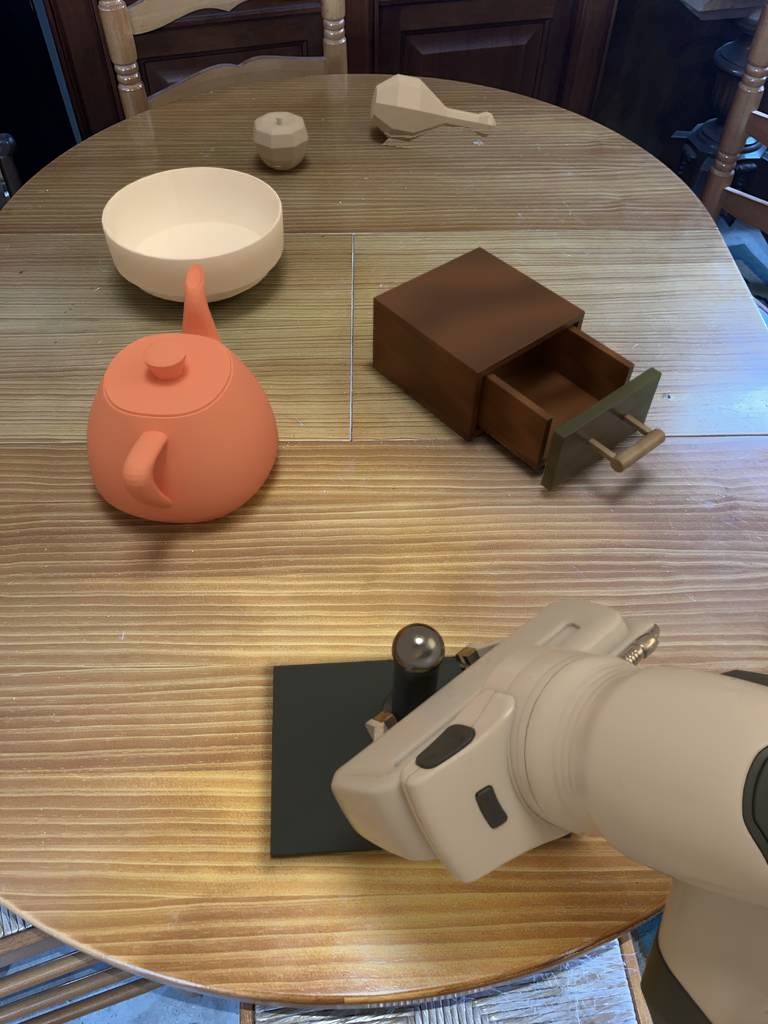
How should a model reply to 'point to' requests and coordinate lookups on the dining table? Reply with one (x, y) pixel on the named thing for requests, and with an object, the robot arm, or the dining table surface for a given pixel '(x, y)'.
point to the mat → (324, 748)
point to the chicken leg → (418, 110)
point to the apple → (280, 139)
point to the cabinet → (462, 331)
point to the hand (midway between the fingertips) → (423, 691)
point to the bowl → (194, 231)
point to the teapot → (181, 423)
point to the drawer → (569, 406)
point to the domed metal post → (414, 668)
